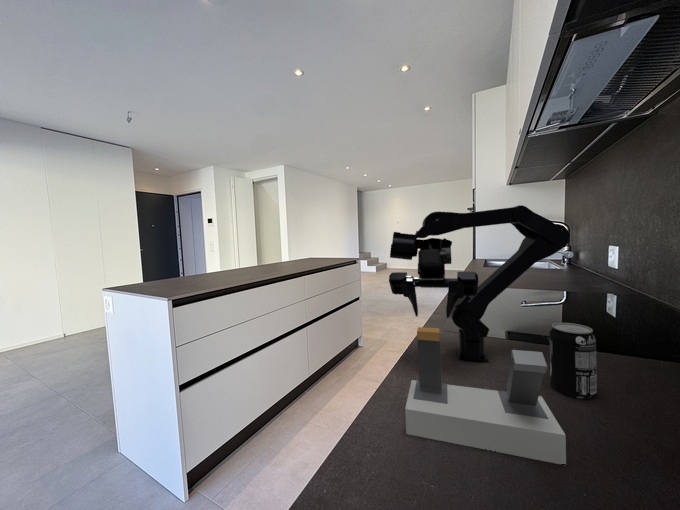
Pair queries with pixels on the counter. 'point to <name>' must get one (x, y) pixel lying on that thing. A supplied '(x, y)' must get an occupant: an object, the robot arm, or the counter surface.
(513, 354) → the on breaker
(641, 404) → the counter surface
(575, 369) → the beverage can
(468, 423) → the grey mounting base
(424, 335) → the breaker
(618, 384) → the counter surface
